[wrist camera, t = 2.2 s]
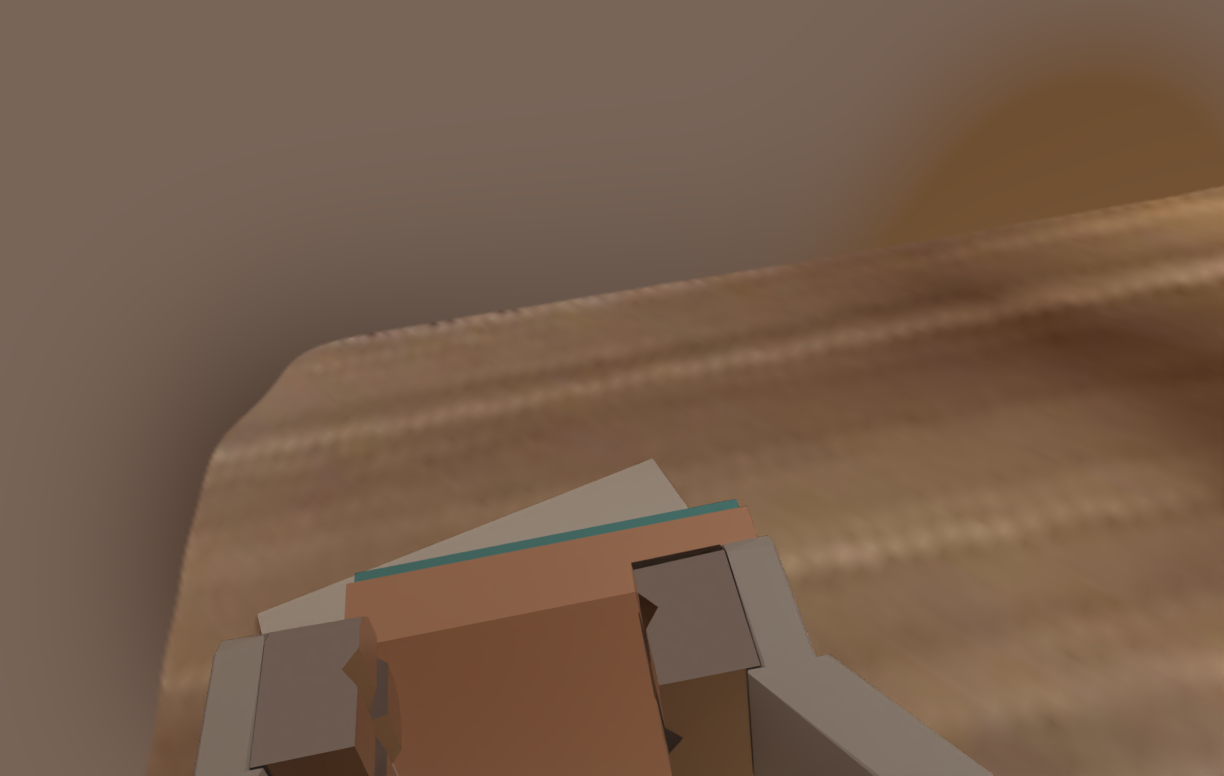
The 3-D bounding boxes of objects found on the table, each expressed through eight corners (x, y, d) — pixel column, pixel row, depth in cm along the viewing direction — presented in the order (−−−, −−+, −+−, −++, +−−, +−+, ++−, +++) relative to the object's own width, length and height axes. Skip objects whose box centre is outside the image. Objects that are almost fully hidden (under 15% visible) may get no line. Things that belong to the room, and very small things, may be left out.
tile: (462, 857, 36) (346, 574, 27) (761, 796, 36) (744, 497, 27) (465, 928, 34) (342, 649, 25) (780, 862, 34) (767, 565, 26)
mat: (653, 464, 50) (652, 458, 49) (941, 867, 34) (942, 861, 34) (260, 619, 45) (257, 613, 45) (386, 1162, 30) (382, 1157, 30)
